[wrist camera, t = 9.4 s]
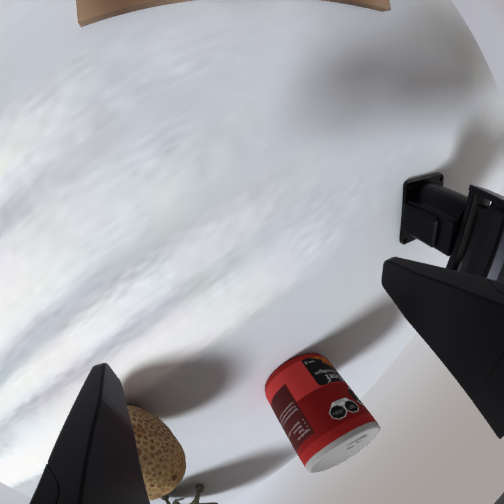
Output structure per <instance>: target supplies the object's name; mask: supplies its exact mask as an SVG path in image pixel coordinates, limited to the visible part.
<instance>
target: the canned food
mask: <svg viewBox="0 0 504 504" xmlns="http://www.w3.org/2000/svg"><path fill="white" fill-rule="evenodd" d="M265 393H266V397H267V400H268V402H269V403H270V405H271V407H272V409H273V411H274V413H275V415H276V417H277V418H278V420H279V422H280V424H281V426H282V428H283V429H284V431H285V433H286V435H287V437H288V438H289V440H290V442H291V444H292V446H293V447H294V449H295V451H296V453H297V454H298V456H299V458H300V460H301V461H302V463H303V464H304V466H305V468H306V469H307V470H308V471H309V472H310V473H315V472H320V471H324V470H326V469H329V468H331V467H334V466H336V465H338V464H340V463H342V462H343V461H345V460H347V459H349V458H350V457H352V456H353V455H355V454H356V453H358V452H359V451H360V450H362V449H363V448H364V447H365V446H367V445H368V444H369V443H370V442H371V441H372V440H373V439H374V438H375V437H376V435H377V434H378V433H379V431H380V426H379V425H378V423H377V422H376V421H375V419H374V418H373V416H372V415H371V414H370V412H369V411H368V410H367V409H366V407H365V406H364V405H363V404H362V402H361V401H360V400H359V399H358V397H357V396H356V395H355V393H354V392H353V391H352V390H351V388H350V387H349V386H348V385H347V383H346V382H345V381H344V380H343V378H342V377H341V376H340V375H339V373H338V372H337V371H336V370H335V368H334V367H333V366H332V365H331V363H330V362H329V361H328V360H327V359H326V358H324V357H323V356H321V355H319V354H315V353H310V354H304V355H300V356H297V357H295V358H293V359H291V360H289V361H287V362H285V363H284V364H282V365H281V366H280V367H278V368H277V369H276V370H275V371H274V372H273V373H272V374H271V376H270V377H269V378H268V380H267V382H266V385H265Z"/></svg>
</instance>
